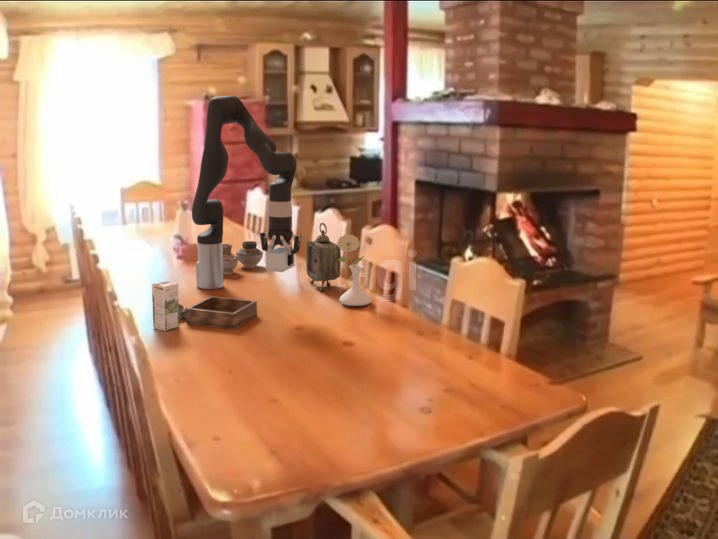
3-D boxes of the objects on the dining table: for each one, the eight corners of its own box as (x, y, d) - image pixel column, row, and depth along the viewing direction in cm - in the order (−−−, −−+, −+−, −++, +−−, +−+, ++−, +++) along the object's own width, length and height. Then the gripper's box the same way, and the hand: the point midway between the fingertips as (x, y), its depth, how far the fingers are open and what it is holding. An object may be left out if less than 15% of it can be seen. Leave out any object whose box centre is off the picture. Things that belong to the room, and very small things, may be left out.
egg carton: (179, 313, 247) (179, 301, 246) (193, 317, 243) (193, 305, 242) (152, 319, 239) (151, 307, 238) (166, 324, 235) (165, 312, 234)
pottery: (208, 273, 301) (207, 245, 298) (248, 263, 322) (248, 236, 319) (229, 277, 295) (228, 248, 292) (268, 266, 316) (268, 239, 313)
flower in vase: (375, 302, 264) (377, 233, 258) (365, 310, 253) (367, 238, 248) (341, 298, 268) (342, 230, 262) (330, 306, 257) (330, 235, 252)
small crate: (265, 270, 240) (265, 252, 239) (278, 264, 250) (278, 246, 248) (282, 272, 239) (282, 254, 237) (294, 265, 248) (294, 248, 246)
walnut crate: (186, 323, 235) (186, 308, 234) (211, 310, 250) (210, 296, 249) (234, 329, 230) (234, 314, 229) (256, 315, 245) (256, 301, 244)
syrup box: (167, 323, 235) (165, 279, 231) (180, 327, 231) (178, 282, 228) (153, 328, 230) (150, 283, 227) (165, 331, 227) (163, 286, 223)
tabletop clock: (306, 283, 287) (306, 220, 282) (327, 281, 291) (328, 219, 285) (318, 293, 274) (319, 226, 269) (341, 290, 278) (342, 225, 272)
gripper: (255, 214, 239) (255, 265, 242) (296, 217, 234) (296, 269, 238) (265, 211, 245) (265, 260, 249) (305, 214, 241) (305, 264, 245)
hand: (280, 264), depth 244 cm, fingers closed on small crate, 6 cm apart
